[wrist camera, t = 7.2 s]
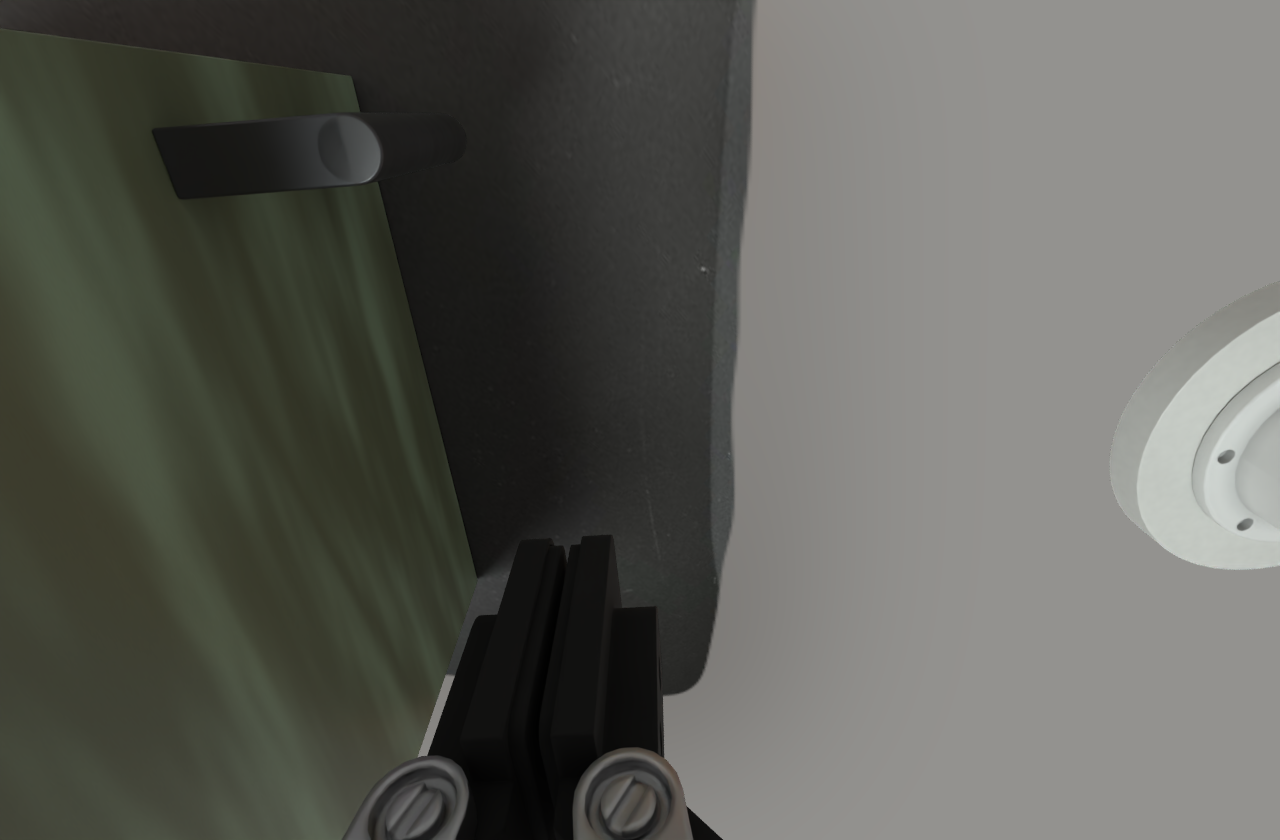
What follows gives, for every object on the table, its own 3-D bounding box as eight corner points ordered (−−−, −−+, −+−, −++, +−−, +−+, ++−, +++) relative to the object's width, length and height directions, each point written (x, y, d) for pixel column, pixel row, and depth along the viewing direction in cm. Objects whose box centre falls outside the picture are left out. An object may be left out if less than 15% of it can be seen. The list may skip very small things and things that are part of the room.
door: (481, 64, 24) (-700, -319, 3) (566, 575, 36) (462, 1252, 15) (327, 77, 25) (-1879, -188, 3) (461, 581, 36) (206, 1259, 15)
